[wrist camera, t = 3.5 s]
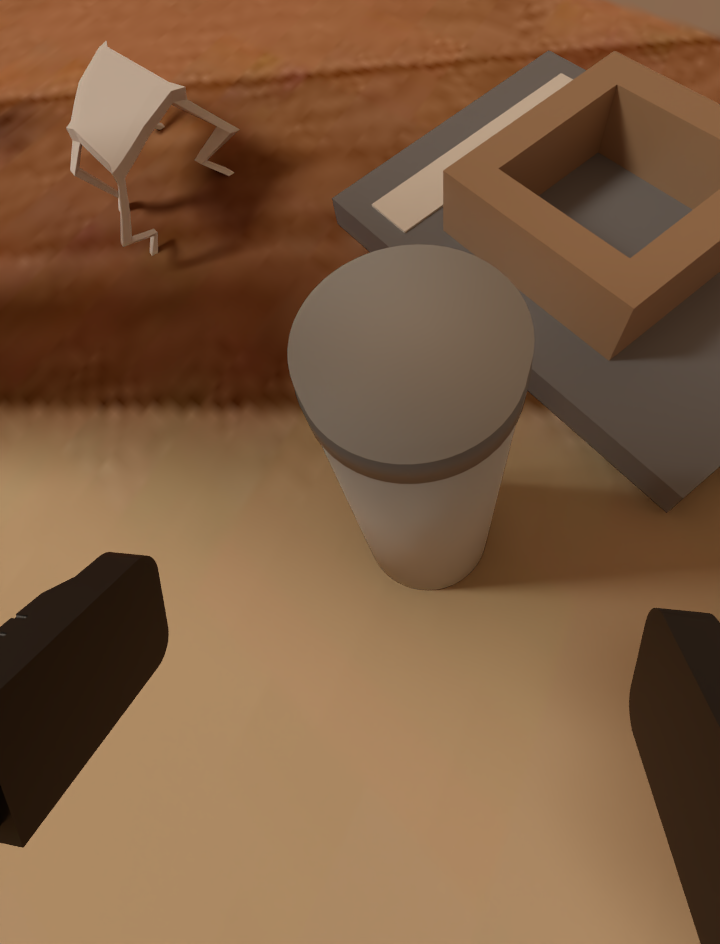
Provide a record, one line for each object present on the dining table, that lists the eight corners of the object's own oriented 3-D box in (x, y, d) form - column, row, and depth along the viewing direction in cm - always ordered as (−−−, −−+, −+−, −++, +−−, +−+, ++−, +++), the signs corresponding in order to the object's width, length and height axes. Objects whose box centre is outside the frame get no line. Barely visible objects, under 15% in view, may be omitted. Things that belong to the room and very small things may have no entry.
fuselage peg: (344, 524, 21) (239, 335, 10) (432, 454, 22) (421, 206, 11) (419, 617, 20) (387, 506, 9) (513, 538, 20) (595, 342, 9)
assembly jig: (337, 223, 28) (319, 139, 23) (543, 80, 30) (560, -21, 25) (667, 512, 20) (724, 462, 16) (917, 293, 22) (1026, 197, 18)
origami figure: (277, 203, 29) (247, 110, 24) (135, 279, 28) (76, 197, 24) (193, 90, 34) (155, -5, 29) (70, 152, 33) (11, 65, 29)
